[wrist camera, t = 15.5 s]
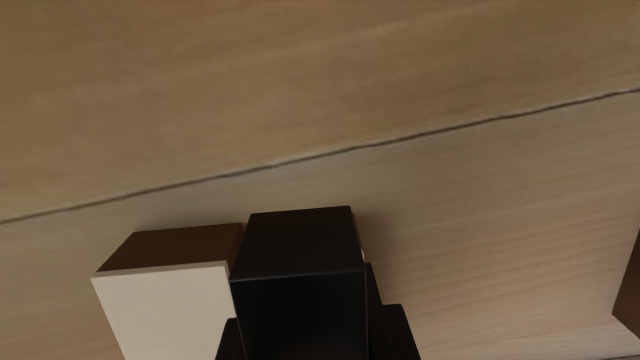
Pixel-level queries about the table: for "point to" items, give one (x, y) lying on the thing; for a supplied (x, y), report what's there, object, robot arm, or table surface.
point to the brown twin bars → (630, 294)
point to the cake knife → (301, 286)
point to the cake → (170, 291)
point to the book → (627, 358)
